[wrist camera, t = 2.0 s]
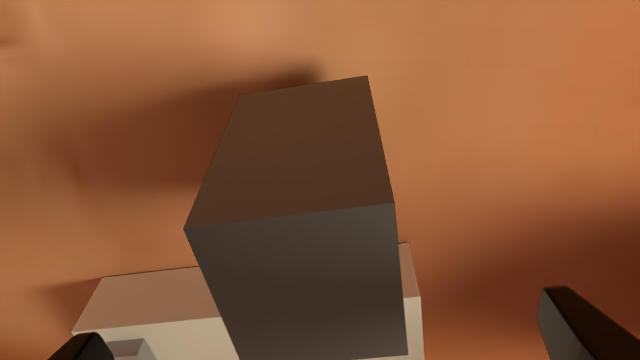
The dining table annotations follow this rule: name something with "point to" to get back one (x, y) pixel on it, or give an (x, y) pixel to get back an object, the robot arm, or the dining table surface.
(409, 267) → the socket
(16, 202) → the dining table surface
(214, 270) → the plug
